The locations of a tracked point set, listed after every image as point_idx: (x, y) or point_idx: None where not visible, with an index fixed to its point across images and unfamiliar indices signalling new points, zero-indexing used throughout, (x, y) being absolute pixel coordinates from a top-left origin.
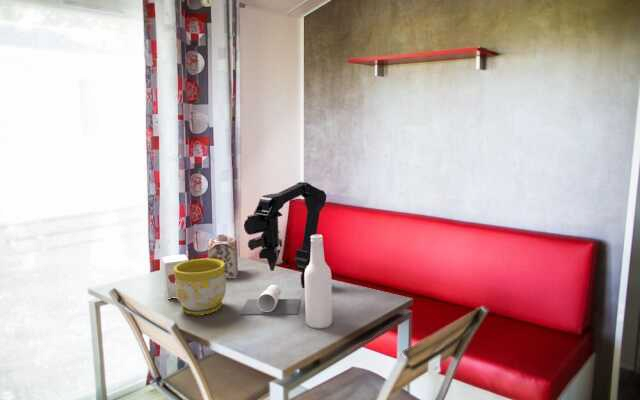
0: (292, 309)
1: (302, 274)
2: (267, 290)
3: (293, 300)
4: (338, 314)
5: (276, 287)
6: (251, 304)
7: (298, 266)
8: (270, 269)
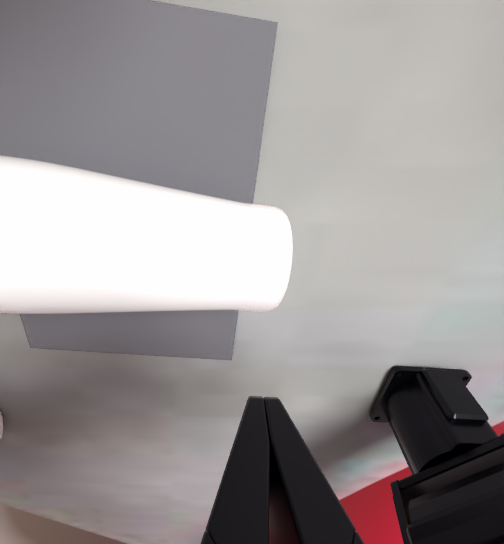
0: (79, 330)
1: (448, 428)
2: (5, 271)
3: (209, 334)
4: (64, 456)
5: (220, 308)
6: (150, 72)
7: (499, 468)
8: (245, 409)
